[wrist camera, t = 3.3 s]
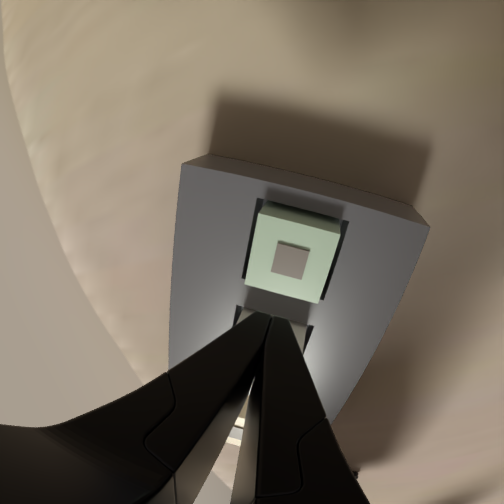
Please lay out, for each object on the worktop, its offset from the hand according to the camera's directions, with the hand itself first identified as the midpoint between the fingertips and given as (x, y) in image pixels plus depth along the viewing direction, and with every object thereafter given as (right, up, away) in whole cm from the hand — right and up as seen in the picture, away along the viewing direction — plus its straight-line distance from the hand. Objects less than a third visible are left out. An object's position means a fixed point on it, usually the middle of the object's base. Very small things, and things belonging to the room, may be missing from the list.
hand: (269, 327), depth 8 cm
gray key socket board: (+1, -1, +10) cm, 10 cm away
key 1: (+2, +3, +6) cm, 7 cm away
